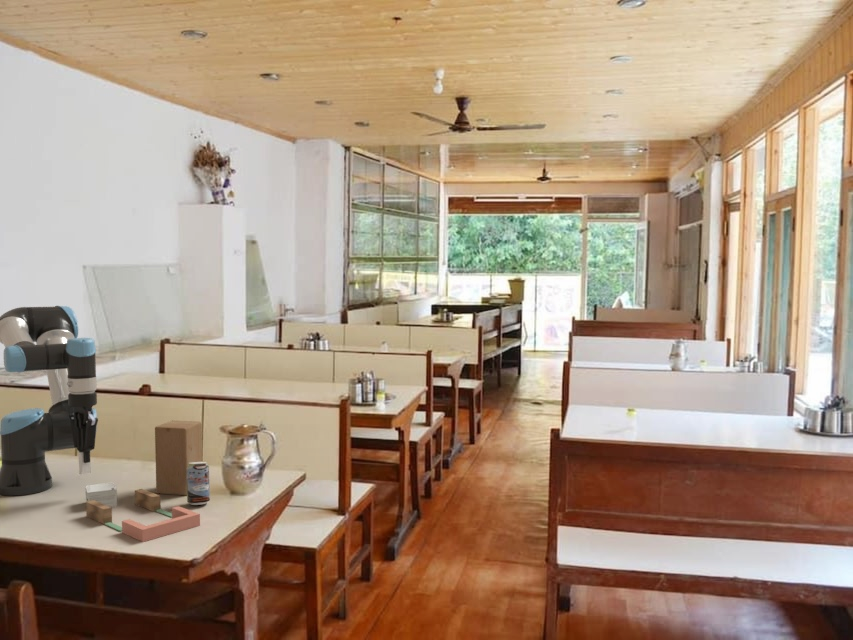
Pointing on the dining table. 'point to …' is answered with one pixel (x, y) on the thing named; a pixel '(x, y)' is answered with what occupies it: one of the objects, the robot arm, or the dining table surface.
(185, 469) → the wooden block
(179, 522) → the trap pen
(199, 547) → the dining table surface
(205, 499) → the beverage can
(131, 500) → the dining table surface
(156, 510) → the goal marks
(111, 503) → the small box
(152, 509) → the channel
